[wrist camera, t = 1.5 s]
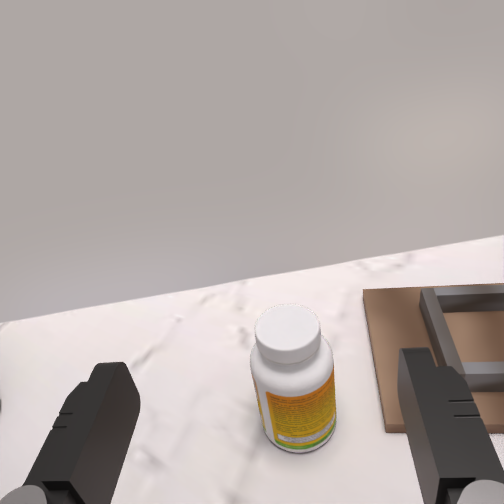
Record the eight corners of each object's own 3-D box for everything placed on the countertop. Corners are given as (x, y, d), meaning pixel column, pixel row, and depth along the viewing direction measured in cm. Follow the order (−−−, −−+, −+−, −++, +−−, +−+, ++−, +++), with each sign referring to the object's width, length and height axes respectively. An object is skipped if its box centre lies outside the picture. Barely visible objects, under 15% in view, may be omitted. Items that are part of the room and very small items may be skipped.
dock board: (386, 432, 30) (387, 406, 28) (362, 297, 41) (363, 272, 40) (682, 434, 27) (704, 404, 26) (570, 288, 39) (580, 261, 37)
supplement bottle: (352, 421, 31) (351, 324, 26) (297, 471, 29) (283, 376, 23) (300, 377, 35) (290, 284, 29) (248, 418, 33) (225, 325, 27)
